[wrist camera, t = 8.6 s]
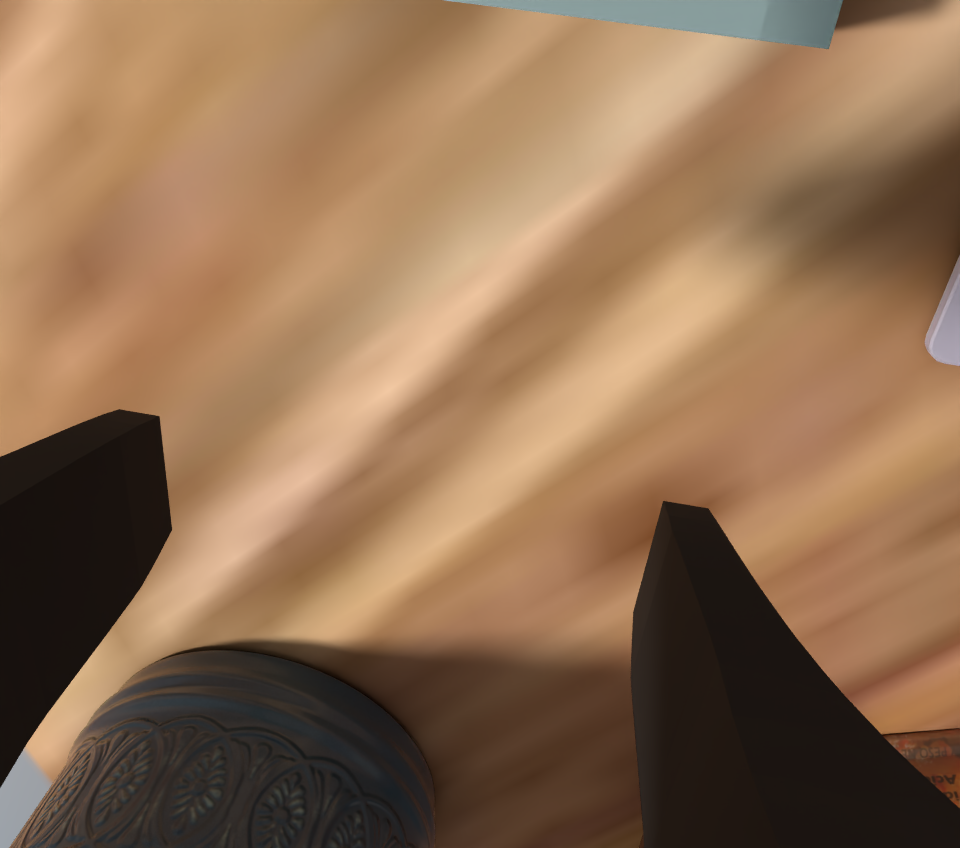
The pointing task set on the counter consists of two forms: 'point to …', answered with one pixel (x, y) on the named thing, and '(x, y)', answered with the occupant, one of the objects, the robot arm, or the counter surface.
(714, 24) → the link
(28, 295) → the counter surface
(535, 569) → the counter surface
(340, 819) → the canister
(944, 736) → the tin
